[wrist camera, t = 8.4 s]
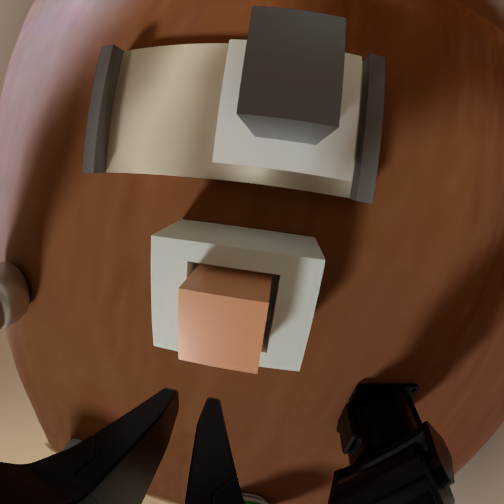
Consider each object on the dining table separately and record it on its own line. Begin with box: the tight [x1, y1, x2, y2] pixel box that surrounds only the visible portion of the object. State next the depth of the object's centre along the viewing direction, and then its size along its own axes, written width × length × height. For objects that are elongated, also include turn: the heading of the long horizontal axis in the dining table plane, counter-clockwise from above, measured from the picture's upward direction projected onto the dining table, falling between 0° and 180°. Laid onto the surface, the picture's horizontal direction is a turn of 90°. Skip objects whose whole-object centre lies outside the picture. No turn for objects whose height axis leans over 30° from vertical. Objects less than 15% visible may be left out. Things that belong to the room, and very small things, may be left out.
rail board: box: [82, 43, 386, 204], centre depth 16 cm, size 18×9×3 cm, turn 83°
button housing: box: [151, 219, 326, 371], centre depth 18 cm, size 9×7×5 cm
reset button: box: [178, 263, 272, 374], centre depth 15 cm, size 4×4×4 cm
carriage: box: [212, 6, 362, 181], centre depth 11 cm, size 7×7×8 cm
